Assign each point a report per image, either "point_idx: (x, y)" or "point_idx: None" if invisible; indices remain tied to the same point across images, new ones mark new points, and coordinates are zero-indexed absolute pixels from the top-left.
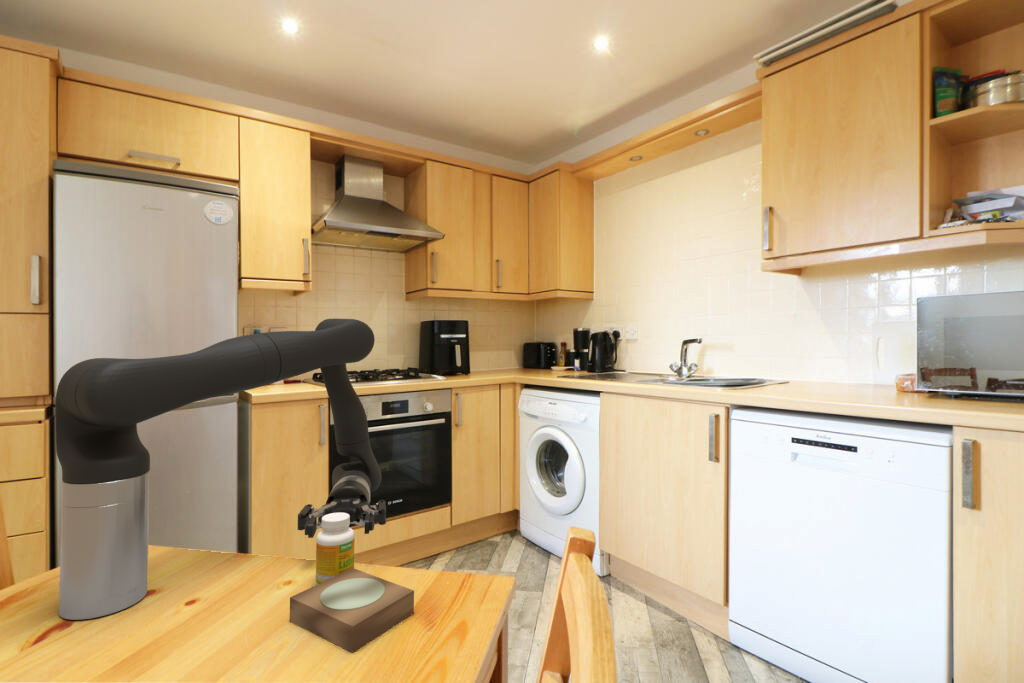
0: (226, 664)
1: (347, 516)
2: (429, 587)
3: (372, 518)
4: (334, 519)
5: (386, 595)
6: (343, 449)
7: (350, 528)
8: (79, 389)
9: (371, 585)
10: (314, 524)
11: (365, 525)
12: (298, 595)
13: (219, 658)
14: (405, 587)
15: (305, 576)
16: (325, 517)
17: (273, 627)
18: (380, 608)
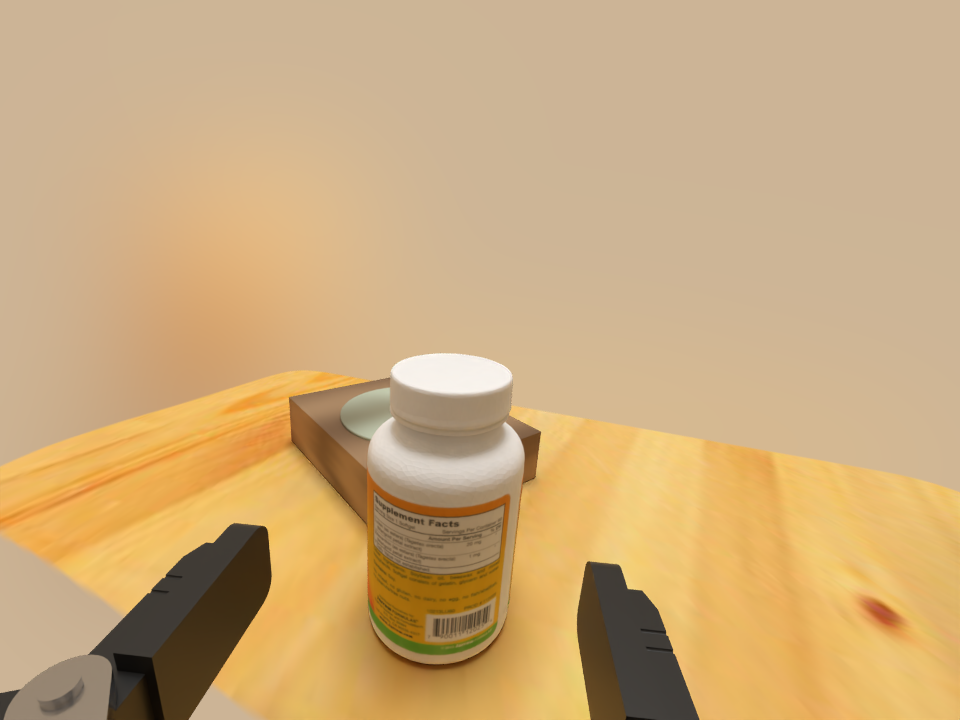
0: (594, 428)
1: (402, 364)
2: (181, 499)
3: (157, 598)
4: (458, 359)
5: (348, 398)
6: None
7: (384, 433)
8: None
9: (366, 416)
10: (596, 623)
11: (263, 540)
12: (524, 432)
13: (613, 438)
14: (298, 406)
15: (564, 689)
16: (497, 373)
17: (560, 471)
18: (372, 382)
